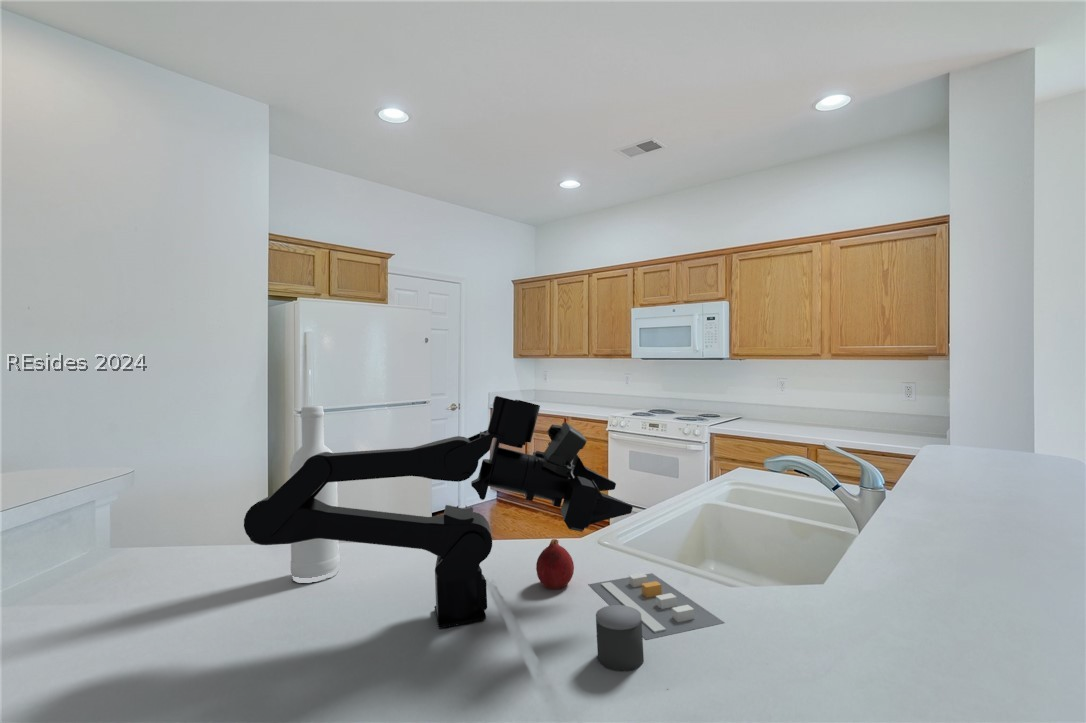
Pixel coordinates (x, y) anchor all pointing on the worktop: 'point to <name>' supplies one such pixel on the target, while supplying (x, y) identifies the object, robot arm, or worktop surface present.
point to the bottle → (315, 553)
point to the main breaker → (651, 589)
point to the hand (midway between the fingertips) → (622, 497)
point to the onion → (554, 566)
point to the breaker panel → (656, 606)
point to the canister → (619, 638)
